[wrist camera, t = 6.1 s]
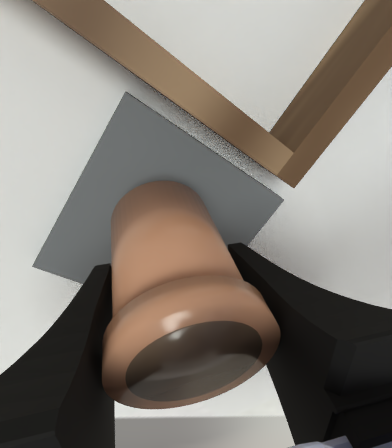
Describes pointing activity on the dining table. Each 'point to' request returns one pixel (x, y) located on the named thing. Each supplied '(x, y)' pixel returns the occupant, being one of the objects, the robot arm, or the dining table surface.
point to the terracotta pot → (178, 305)
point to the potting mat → (144, 173)
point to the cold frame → (226, 111)
